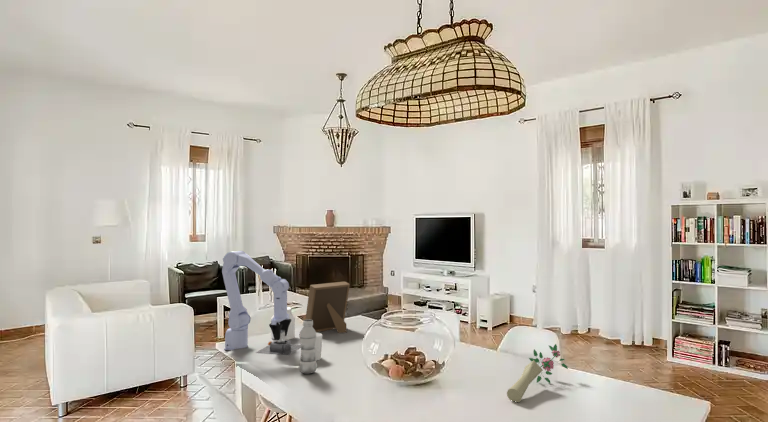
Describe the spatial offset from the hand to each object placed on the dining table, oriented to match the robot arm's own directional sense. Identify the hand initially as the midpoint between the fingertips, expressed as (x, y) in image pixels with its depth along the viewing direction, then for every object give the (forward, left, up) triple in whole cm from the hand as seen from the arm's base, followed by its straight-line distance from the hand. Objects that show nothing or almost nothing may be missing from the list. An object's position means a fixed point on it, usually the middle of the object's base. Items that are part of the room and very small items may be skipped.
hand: (280, 337), depth 215 cm
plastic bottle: (+23, -25, -6) cm, 34 cm away
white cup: (+18, -7, -6) cm, 20 cm away
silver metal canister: (0, 0, -5) cm, 5 cm away
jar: (-8, +20, -6) cm, 22 cm away
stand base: (0, 0, -6) cm, 6 cm away
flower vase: (+106, -23, -6) cm, 109 cm away
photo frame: (+9, +40, -6) cm, 41 cm away
